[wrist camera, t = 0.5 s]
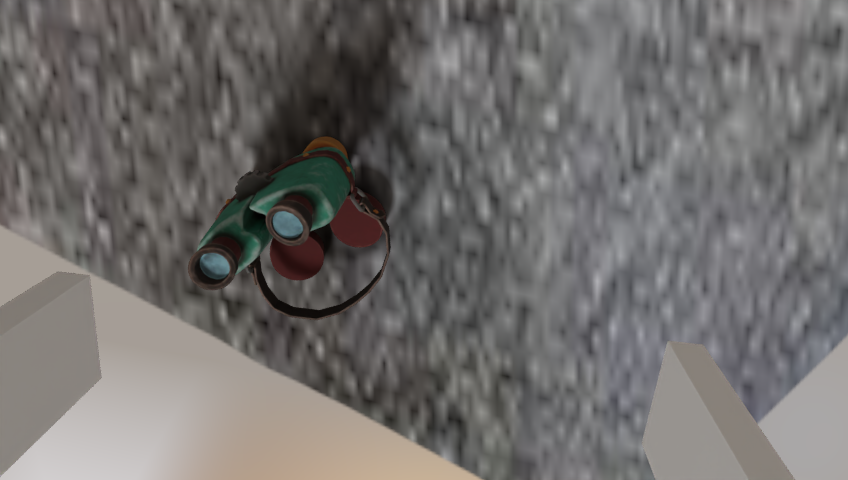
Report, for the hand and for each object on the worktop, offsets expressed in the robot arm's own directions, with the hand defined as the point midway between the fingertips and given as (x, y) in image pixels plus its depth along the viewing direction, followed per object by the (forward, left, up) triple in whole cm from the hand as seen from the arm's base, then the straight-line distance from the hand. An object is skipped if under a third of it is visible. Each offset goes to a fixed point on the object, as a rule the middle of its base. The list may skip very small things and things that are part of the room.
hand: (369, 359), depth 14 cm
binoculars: (+2, -8, -24) cm, 26 cm away
